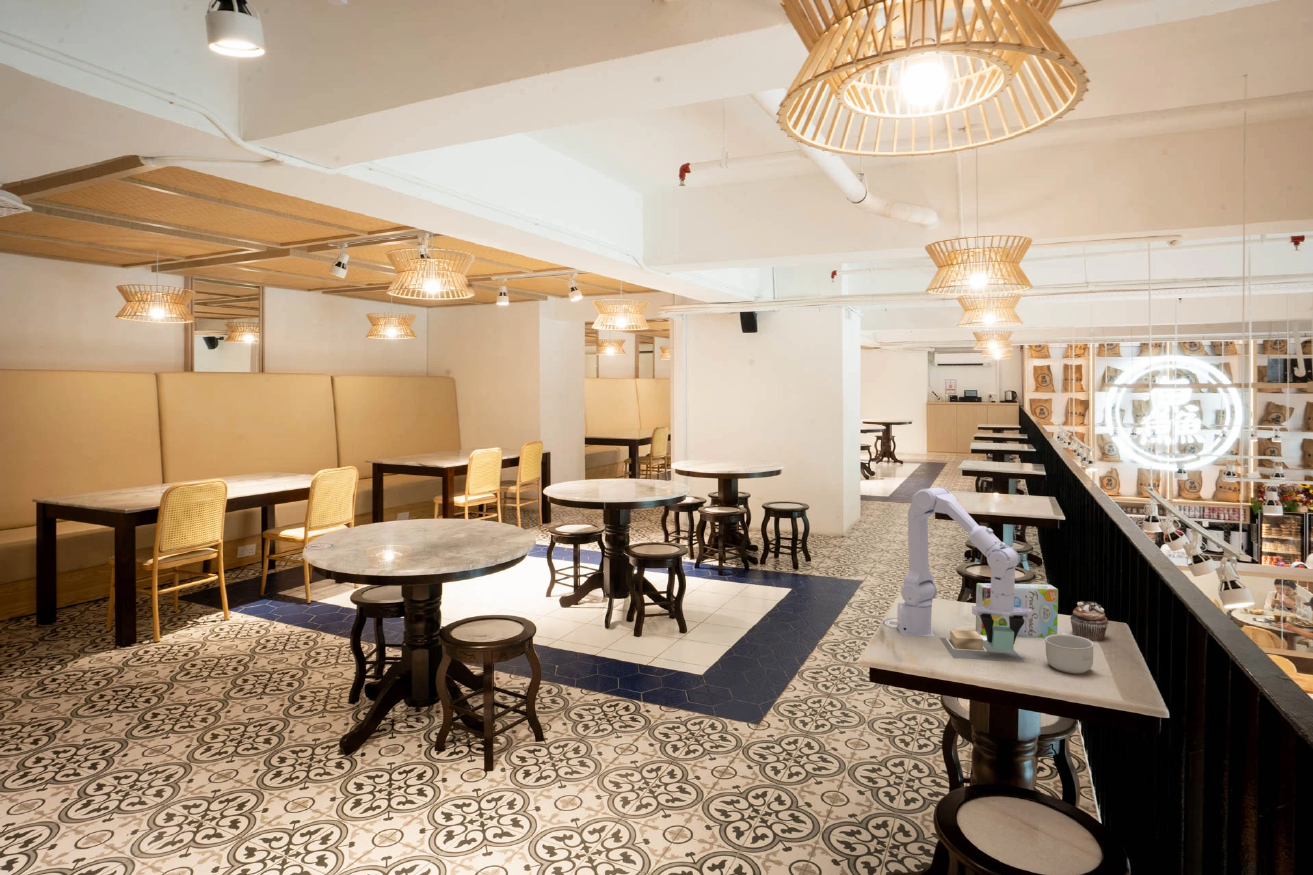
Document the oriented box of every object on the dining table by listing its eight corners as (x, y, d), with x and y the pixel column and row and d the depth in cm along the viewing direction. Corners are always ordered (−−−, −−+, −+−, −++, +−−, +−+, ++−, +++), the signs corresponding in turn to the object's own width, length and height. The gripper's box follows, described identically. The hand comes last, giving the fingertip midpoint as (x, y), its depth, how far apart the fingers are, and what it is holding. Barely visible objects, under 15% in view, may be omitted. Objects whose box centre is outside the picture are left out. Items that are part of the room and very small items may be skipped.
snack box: (1048, 633, 210) (1050, 583, 209) (1057, 640, 204) (1059, 588, 203) (974, 631, 212) (976, 581, 211) (981, 637, 206) (982, 586, 205)
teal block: (993, 649, 188) (994, 630, 188) (987, 642, 193) (988, 624, 192) (1013, 650, 187) (1014, 632, 187) (1007, 644, 192) (1008, 626, 192)
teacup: (1092, 682, 174) (1093, 650, 173) (1042, 672, 180) (1043, 642, 179) (1092, 664, 186) (1094, 634, 185) (1046, 656, 191) (1046, 627, 191)
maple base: (956, 648, 195) (956, 637, 195) (949, 639, 202) (950, 629, 202) (982, 649, 194) (983, 639, 194) (975, 641, 201) (976, 631, 201)
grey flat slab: (953, 659, 188) (953, 657, 188) (939, 639, 204) (939, 637, 204) (1025, 664, 185) (1025, 661, 185) (1006, 643, 201) (1006, 641, 201)
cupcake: (1062, 630, 212) (1064, 597, 212) (1095, 631, 212) (1097, 598, 211) (1080, 641, 203) (1082, 607, 202) (1115, 642, 202) (1116, 607, 202)
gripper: (977, 595, 186) (976, 645, 187) (1036, 598, 184) (1034, 649, 185) (970, 588, 193) (969, 636, 194) (1027, 590, 191) (1025, 639, 192)
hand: (1000, 642), depth 190 cm, fingers closed on teal block, 5 cm apart
